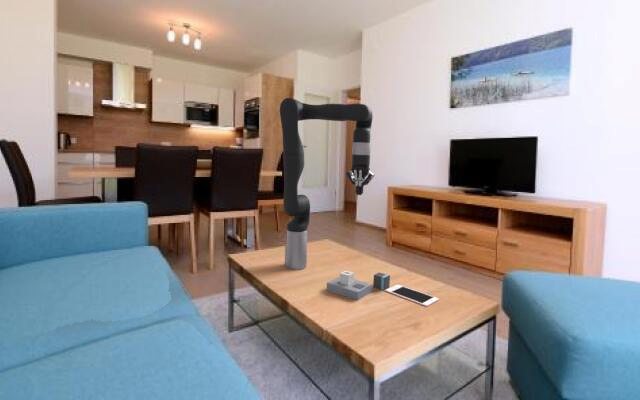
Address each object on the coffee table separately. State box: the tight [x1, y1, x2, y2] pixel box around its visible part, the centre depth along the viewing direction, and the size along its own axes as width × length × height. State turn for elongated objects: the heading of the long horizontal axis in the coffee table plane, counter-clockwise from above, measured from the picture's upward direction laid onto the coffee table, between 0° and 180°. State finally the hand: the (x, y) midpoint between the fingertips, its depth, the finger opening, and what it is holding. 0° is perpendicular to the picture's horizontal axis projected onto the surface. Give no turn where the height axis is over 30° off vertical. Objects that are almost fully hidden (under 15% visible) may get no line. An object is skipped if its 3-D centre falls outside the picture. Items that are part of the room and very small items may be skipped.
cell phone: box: [384, 284, 440, 308], centre depth 129 cm, size 9×18×1 cm, turn 43°
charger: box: [339, 270, 355, 286], centre depth 132 cm, size 4×4×7 cm
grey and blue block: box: [372, 272, 391, 291], centre depth 136 cm, size 5×4×5 cm
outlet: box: [326, 276, 373, 301], centre depth 132 cm, size 14×10×3 cm
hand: (359, 194), depth 146 cm, fingers closed
